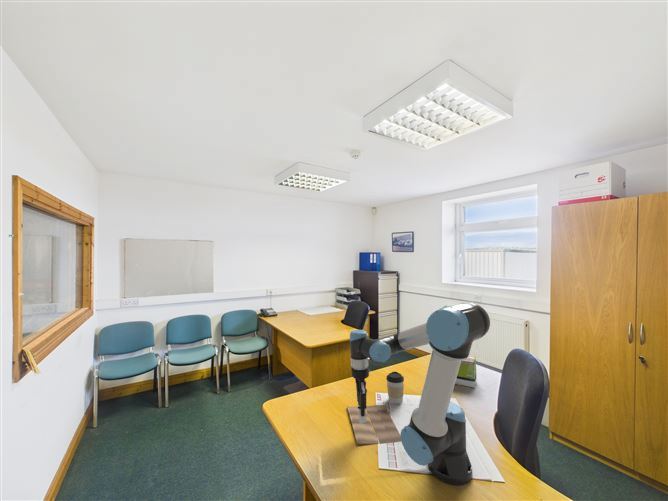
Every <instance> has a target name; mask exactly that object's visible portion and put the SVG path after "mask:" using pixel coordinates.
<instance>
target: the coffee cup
mask: <svg viewBox="0 0 668 501" xmlns="http://www.w3.org/2000/svg"><path fill="white" fill-rule="evenodd" d="M404 380H405V377H404V375H402V374H401V373H399V372H397V371H392V372H390V373H388V374H387V375H386V388H387V397H388V401H389V403H391V404H393V405H399V404H402V403H403V401H404V399H403V398H404V386H405V384H404V382H405V381H404Z"/></svg>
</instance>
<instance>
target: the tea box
mask: <svg viewBox="0 0 668 501" xmlns="http://www.w3.org/2000/svg"><path fill="white" fill-rule="evenodd" d="M476 363H477V361H476V356H470V355H469V356H468V358H466V359H464V360H461V364H460V367H459V371H458V374H457V378H456V382H455V385H459V386H464V387H469V388H473V389H474V388H476V384H477V380H478V378H477V364H476Z"/></svg>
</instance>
